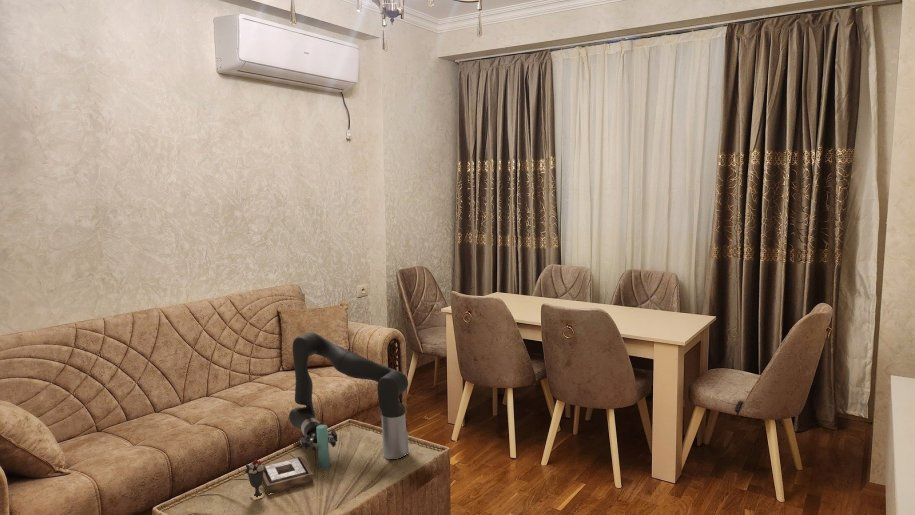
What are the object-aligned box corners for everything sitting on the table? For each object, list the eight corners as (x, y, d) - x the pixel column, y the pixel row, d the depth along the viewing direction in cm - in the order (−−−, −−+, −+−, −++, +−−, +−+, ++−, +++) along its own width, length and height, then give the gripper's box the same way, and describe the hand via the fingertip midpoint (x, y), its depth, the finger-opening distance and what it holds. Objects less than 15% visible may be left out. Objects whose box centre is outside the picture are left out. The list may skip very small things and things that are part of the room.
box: (302, 464, 241) (301, 456, 240) (313, 483, 227) (312, 474, 226) (259, 475, 233) (258, 466, 233) (268, 495, 219) (267, 485, 219)
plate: (297, 465, 238) (297, 458, 237) (306, 479, 227) (305, 471, 227) (265, 473, 232) (264, 466, 232) (272, 488, 222) (271, 480, 221)
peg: (327, 463, 241) (325, 423, 239) (331, 467, 238) (328, 427, 235) (317, 465, 240) (315, 426, 237) (320, 470, 236) (318, 430, 234)
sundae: (271, 494, 220) (268, 454, 217) (256, 503, 214) (252, 462, 212) (259, 489, 223) (256, 450, 221) (243, 498, 218) (240, 457, 215)
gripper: (294, 425, 246) (304, 441, 231) (329, 417, 253) (342, 433, 238) (295, 443, 247) (306, 460, 233) (330, 435, 254) (343, 451, 239)
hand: (324, 446), depth 235 cm, fingers open, 6 cm apart
